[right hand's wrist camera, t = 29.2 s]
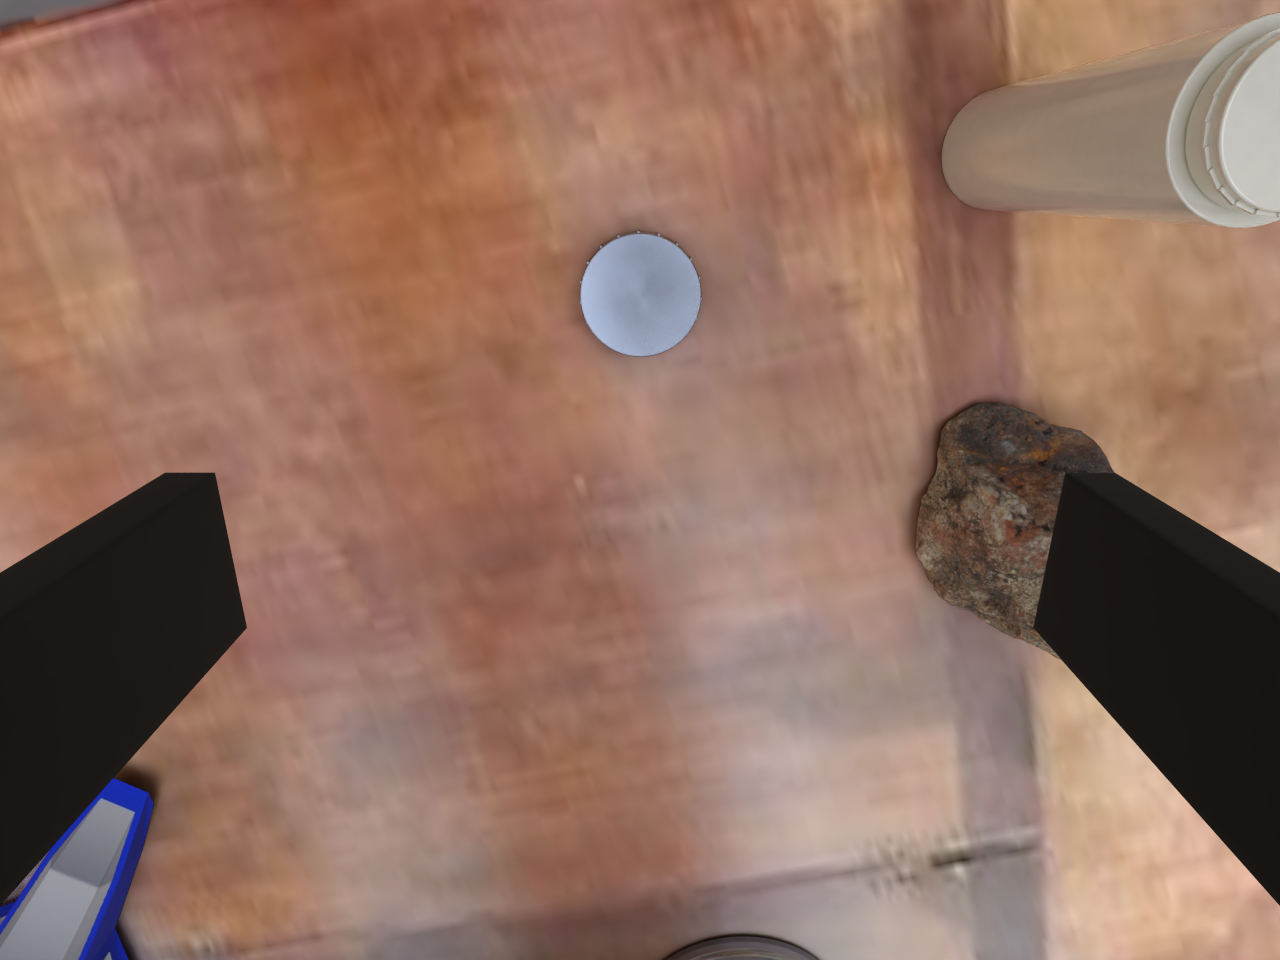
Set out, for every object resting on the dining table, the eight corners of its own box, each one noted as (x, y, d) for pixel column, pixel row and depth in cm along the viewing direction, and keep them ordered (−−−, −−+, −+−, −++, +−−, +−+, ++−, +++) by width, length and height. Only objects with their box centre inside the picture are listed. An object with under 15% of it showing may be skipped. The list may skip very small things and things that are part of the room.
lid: (704, 233, 39) (707, 235, 37) (695, 354, 41) (697, 361, 39) (582, 226, 39) (580, 228, 37) (580, 348, 41) (577, 355, 39)
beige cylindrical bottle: (919, 139, 37) (1165, 100, 20) (1021, 60, 36) (1379, -56, 19) (976, 233, 39) (1251, 273, 21) (1075, 160, 38) (1452, 139, 20)
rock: (1098, 392, 42) (914, 402, 43) (1208, 426, 34) (980, 437, 34) (1070, 633, 46) (903, 641, 47) (1163, 715, 38) (959, 724, 38)
